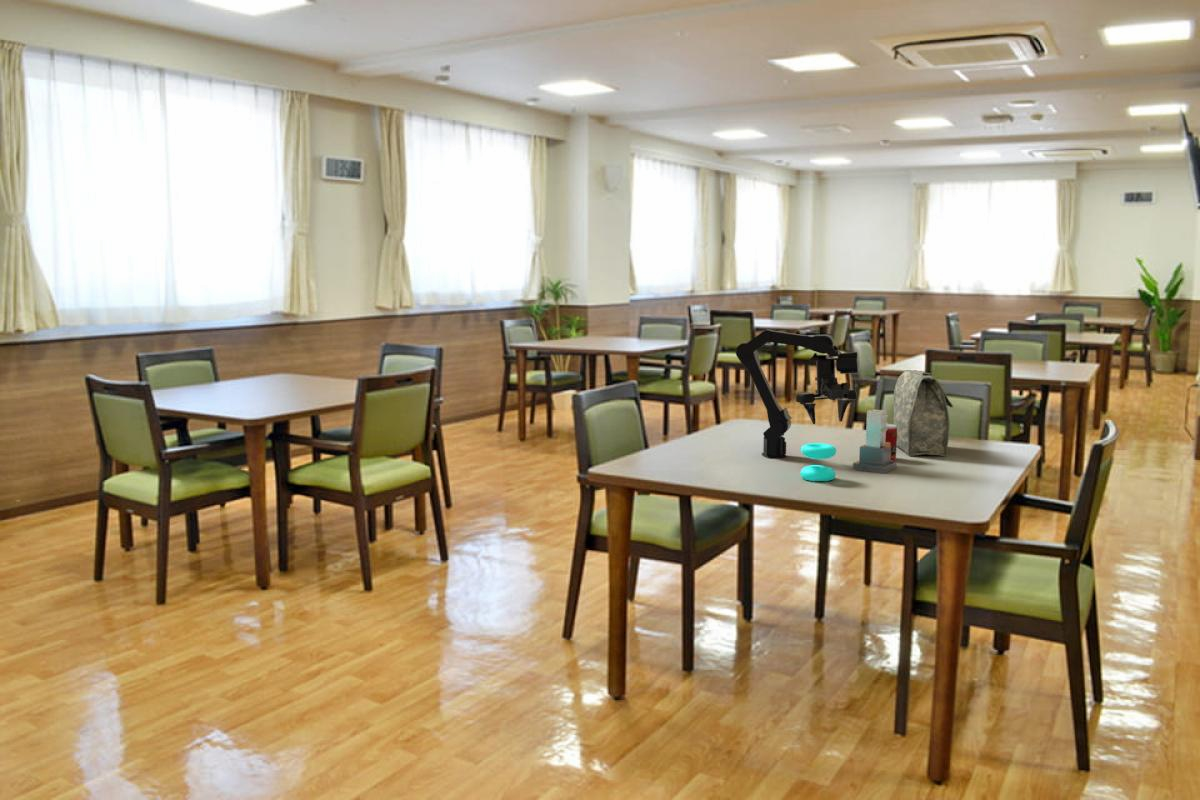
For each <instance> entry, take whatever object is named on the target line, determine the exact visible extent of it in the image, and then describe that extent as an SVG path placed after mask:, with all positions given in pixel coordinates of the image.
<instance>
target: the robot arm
mask: <svg viewBox="0 0 1200 800" xmlns="http://www.w3.org/2000/svg"><path fill="white" fill-rule="evenodd" d="M767 343H773V344H782V345H787V346H793V347H801V348H805V349H807V350H811V351H812V352H814V353H813V355H812V357H810V358H809V361H811V362H813V361H815V364H816V367H815V368H816V376H815V377H814V380H815V381H816V389H815V393H813V392H797V394H796V396H795V402H796V403H799V405H801V406H803V408H804V409H805V411H806V413H807V414H808V417H809V418H810V420H811V422H812V424H813V425H816V411H815V409H816V403H814V401H818V400H830V401H835V400H837V402H836V403H837V415H838V421H839V422H841V423H842V422H843V420H844V416H845V413H846V410H847V408H848V405H850V403H851V402H852V403H853V402H854V400H856V399H858V392H857V391H856V389H852V388H850V384H849V383H848V382H842V383H839V382H838V378H837V377H836V371H837V372H839V373H840V375H847V374H849V375H854V374H855V375H857V374H860V361H859V353H858V351H853V352H841V350H840V349H839V348H838V346H837V345H836V341H835V339H834V337H833V336H832V335H830V334H799V333H792V332H787V331H779V330H773V329H770V328H768V329H764V330H762V331H761V332H760V333H759V334H758V335H756V336H755V337H753V338H752V339H751V340H749V341H746V342H743V343H740V344H739V345H738V346H737V347H736V349H735V355H736V357H737V359H738V360H739V362H740V363H741V365H742V366H743V367H744V368H745V369H746V370H747V371H748V373H749V375H750V377H751V380H752V381H753V383H754V386H755V388H756V390H757V393H758V395H759V397H760V399H761V401H762V404H763V405H764V407H765V410H766V413H767V420H768V424H769V427H768V428H767V429H766V430H765V431H764V432H763V450H762V451H763V452H761V455H762V456H763V457H766V458H768V459H770V458H771V459H772V458H787V455H786V454H787V442H786V438H785V437H784V436H785V434H786V433H787V432H788V431H789V430H790V428H791V426H792V421H791V419H793V417H791V416H790V414H789V411H788V408H787V407H784V408H782V407H781V405H780V404H779V402H778V400H777V398H776V396H775V394H774V391H773V390H772V388H771V385H770V384H769V382H768V379H767V377H766V375H765V372H764V370H763V368H762V367H761V361H760V355H759V352H758V351H759V350H760V349H761V348H763V347H764V346H766V344H767ZM818 353H819V354H818ZM828 355H829V356H830V357H828ZM835 361H836V362H835ZM835 367H836V368H835Z"/></svg>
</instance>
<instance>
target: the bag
mask: <svg viewBox="0 0 1200 800" xmlns="http://www.w3.org/2000/svg"><path fill="white" fill-rule="evenodd" d="M948 407H950V408H954V405H953V404H952V402H951V401H950V399H949V397H948V396H947V393H946V392H945V390H944V388H943V387H942V385H941V383H940V381H939V380H938V379H936V378H935V377H934V376H932V375H931V373H930V372H925V371H923V370H917V369H915V370H914V369H913V370H911V369H908V370H907V369H905V370H904V371H903V372H902V373H901V374H900V375H899V377H898V378H897V380H896V383H895V386H894V391H893V423H892V424H893V425H896V426H897V447H896V448H898V449H901V450H902V451H903V452H905V453H906V454H907V455H908V456H909V457H913V456H922V455H929V456H940V457H943V456H947V457H948V455H949V454H948V445H949V440H950V439H949V437H950V436H949V435H950V426H951V425H950V423H951V421H950V415H949V409H948Z"/></svg>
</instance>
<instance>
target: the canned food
mask: <svg viewBox="0 0 1200 800" xmlns="http://www.w3.org/2000/svg"><path fill="white" fill-rule="evenodd" d="M886 428H887V431H886V441H885V443H886V442H891V444H890V446H891V460H893V461H896V458H897V448H898V447H897V426H896V425H893V423H888V424H886Z"/></svg>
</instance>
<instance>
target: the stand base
mask: <svg viewBox="0 0 1200 800" xmlns="http://www.w3.org/2000/svg"><path fill="white" fill-rule="evenodd" d="M890 444H891V442H886V443H885V445H884V447H883V448H872V447H866V443H865V444H863V445H860V446H859V459H858V460H857V461H854V462H852V470H853V469H856V470H855V471H861V470H864V471H863V472H869V471H871V472H872V473H877V472H878V473H879V474H887V473H889V472H890V471H892V470H894V469H896V468H897V462H898V461H896V460H893V461H891V446H890ZM871 472H870V473H871Z"/></svg>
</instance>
